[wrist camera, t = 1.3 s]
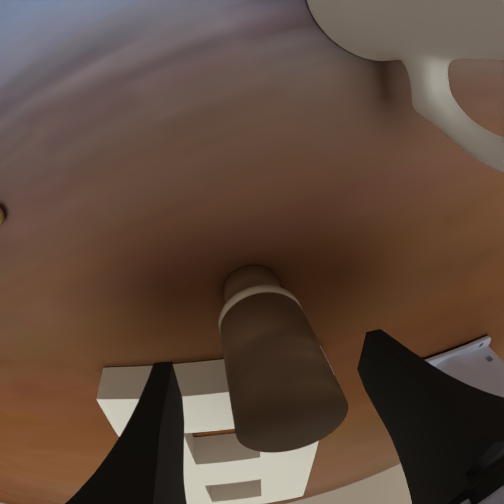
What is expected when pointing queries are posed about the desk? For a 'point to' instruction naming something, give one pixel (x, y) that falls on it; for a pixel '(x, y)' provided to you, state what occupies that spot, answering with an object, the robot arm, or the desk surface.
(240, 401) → the peg
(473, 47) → the mug
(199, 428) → the board
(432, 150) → the desk surface
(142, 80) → the desk surface
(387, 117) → the desk surface
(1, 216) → the gavel
